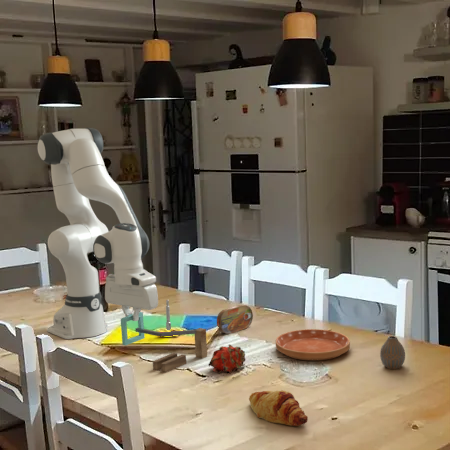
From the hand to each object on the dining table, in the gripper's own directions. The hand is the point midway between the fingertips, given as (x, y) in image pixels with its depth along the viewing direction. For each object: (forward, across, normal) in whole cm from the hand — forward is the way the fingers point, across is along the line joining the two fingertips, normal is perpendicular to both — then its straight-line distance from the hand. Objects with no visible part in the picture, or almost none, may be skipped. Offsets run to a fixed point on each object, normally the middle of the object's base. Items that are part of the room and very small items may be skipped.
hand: (132, 320), depth 215 cm
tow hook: (+12, -6, +24) cm, 28 cm away
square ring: (+7, 0, 0) cm, 7 cm away
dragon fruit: (+12, +34, +4) cm, 36 cm away
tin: (+12, +10, +38) cm, 41 cm away
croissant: (+13, +62, -13) cm, 65 cm away
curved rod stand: (+12, +12, +5) cm, 18 cm away
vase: (+12, +72, +32) cm, 79 cm away
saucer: (+13, +44, +33) cm, 57 cm away
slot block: (+12, +18, -3) cm, 21 cm away
